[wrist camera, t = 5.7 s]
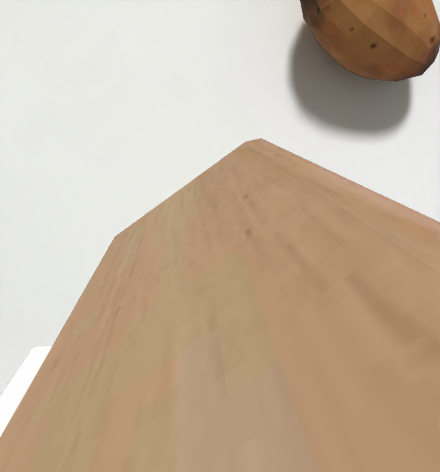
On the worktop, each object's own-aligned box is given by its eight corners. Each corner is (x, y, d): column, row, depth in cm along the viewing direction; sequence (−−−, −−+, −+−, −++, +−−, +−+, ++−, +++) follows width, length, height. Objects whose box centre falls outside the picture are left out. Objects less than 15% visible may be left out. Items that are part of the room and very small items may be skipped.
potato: (386, 47, 37) (379, 115, 35) (279, -37, 32) (261, 38, 29) (466, -8, 31) (463, 72, 28) (347, -125, 25) (332, -38, 23)
